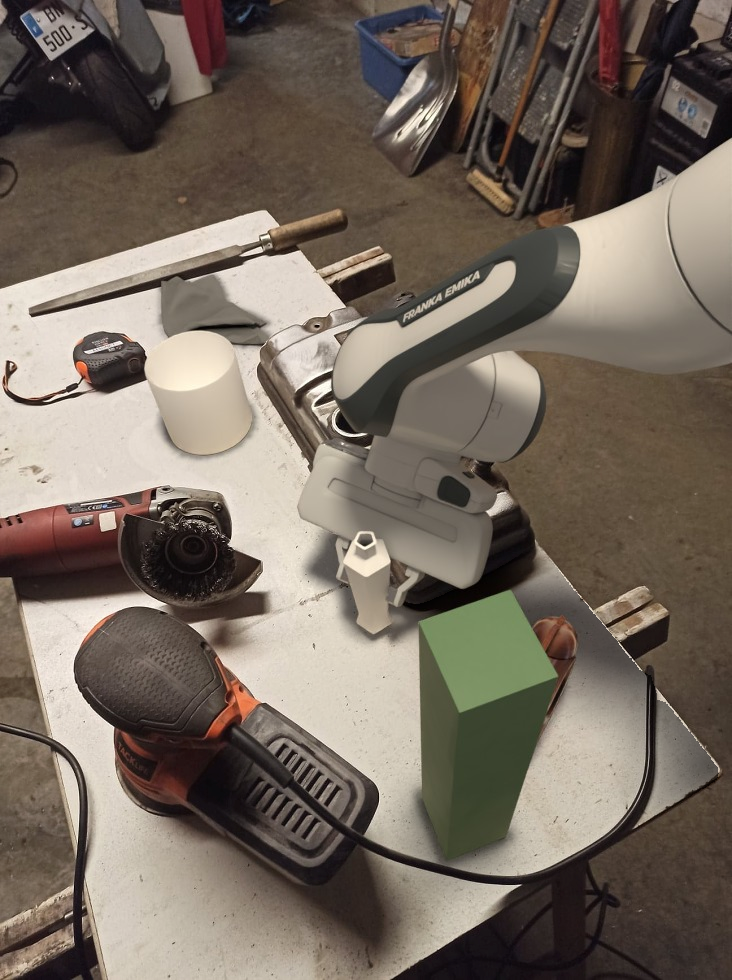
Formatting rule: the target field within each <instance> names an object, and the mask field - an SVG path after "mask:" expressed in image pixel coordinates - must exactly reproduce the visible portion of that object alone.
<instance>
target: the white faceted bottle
mask: <svg viewBox="0 0 732 980" xmlns="http://www.w3.org/2000/svg"><path fill="white" fill-rule="evenodd" d="M343 563H344V566H345V569H346V573H347V576H348V579H349V583H350V584H349V586H350V589H351V592H352V596H353V599H354V602H355V606H356V609H357V612H358V615H357V619H356V624H357V625H358V626H360V627H361V628H363V629H365V630H366V631H368V633H370V634H372V635H375V634H377V633H379V632H380V631H382V630H383V629H385V628H387V627H388V626H390V625H391V624H392V623H393V620H392V617H391V614H390V612H389V603H388V602H386V601H385V598H386V596H387V595H388V589H389V587H390V583H391V582H390V581H391V579H390V578H391V564H392V563H391V558H390V557H389V555H388V552H387V549H386V547H385V544H384V541H383V540H382V539H376V538H375V535H374V533H373V532H371V531H360V532H358V533H357V535H356V538H355V539H354V540H353V541H352V543H351V545H350V547H349V549H348V552H347V554H346V556H345V558H344V561H343Z"/></svg>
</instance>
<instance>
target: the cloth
mask: <svg viewBox="0 0 732 980" xmlns="http://www.w3.org/2000/svg"><path fill="white" fill-rule="evenodd" d="M160 282H161V283H160V285H161V289H160V310H161V311H160V312H161V321H162V328H163V331H164V332H165V333H166V335H167V336H168V338H170V337H172V336H174V335H177V334H180V333H184V332H189V331H209V332H213V333H217V334H219V335H221V336H223V337H225V338H226V339H227V340H229V341H230V343H231V344H246V345H247V344H249V345H251V344H252V345H266V344H265V343H266V341H267V340H268V339H269V338H270V337H269V335H267V333H265V332H264V331H263V330H262V329H261V328H259V327H261V326H263V325H266V324H267V321H265V320H263V319H261V318H259V317H258V316H255V315H254V314H252V313H250V312H248V311H247V310H244V309H243V308H242V307H240V306H238V304H235V303H234V302H232V301H228V300H227V299H226V297H225V292H224V289H223V287H222V286H221V284H220V282H219V280H218V279H217V278H216V276H215V275H214V274H210V275H206V276H204V277H201V278H198V279H196V280H194V281H193V282H192V281H190V280H187V281H186V280H184V279H182V277H179V276H174V277H172V278H170V279H169V280H167V281H166V280H160ZM258 326H259V327H258Z"/></svg>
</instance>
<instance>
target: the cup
mask: <svg viewBox="0 0 732 980" xmlns="http://www.w3.org/2000/svg"><path fill="white" fill-rule="evenodd" d="M240 369H241V368H240V365H239V362H238V358H237V354H236V350H235V348H234V346H233V343H232V342H230V341H229V340H227V339H226V338H225V337H223V336H221V335H219V334H217V333H213V332H209V331H189V332H184V333H180V334H177V335H174V336H172V337H168V338H166V339H164V340H163V341H160V342H159V343H158V344H157V345H156V346H155V347H154V348H153V349H152V350H151V351H150V352H149V354H148V355H147V357H146V360H145V363H144V368H143V370H144V371H143V372H144V376H145V378H146V381H147V383H148V385H149V388H150V391H151V393H152V396H153V399H154V401H155V403H156V405H157V408H158V411H159V414H160V416H161V418H162V421H163V423H164V425H165V427H166V431H167V433H168V435H169V438H170V439H171V441H172V444H173V445H174V446H176V448H178V449H179V450H181V451H183V452H185V453H189V454H192V455H199V456H200V455H201V456H204V455H206V456H207V455H214V454H219V453H222V452H224V451H227V450H229V449H231V448H232V447H234V446H236V445H238V444H239V443H240V442H241V441H242V440H243V439H244V438H245V437H246V435H248V432H250V429H251V425H252V422H253V416H252V410H251V407H250V403H249V399H248V395H247V392H246V388H245V384H244V379H243V377H242V373H241V370H240Z"/></svg>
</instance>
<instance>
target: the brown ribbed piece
mask: <svg viewBox="0 0 732 980" xmlns="http://www.w3.org/2000/svg"><path fill="white" fill-rule="evenodd" d="M532 629H533V631H534V633H535V634H536V636H537V638H538V640H539V642H540V643H541V645H542V647H543V649H544V651H545V652H546V654H547V656H548V658H549V660H550V662H551V663H552V665H553V667H554V669H555V671H556V672H557V674H558V679H557V683H556V686H555V689H554V692H553V695H552V698H551V701H550V704H549V707H548V710H547V713H546V716H545V719H544V722H543V725H542V728H541V731H540V735H539V738H538V740H539V739H540V738H541V736H542V734H543V733H544V731H545V729H546V727H547V725H548V723H549V721H550V719H551V717H552V715H553V713H554V711H555V709H556V707H557V705H558V703H559V701H560V699H561V696H562V694H563V692H564V691H565V688H566V686H567V684H568V682H569V678H570V677H571V674H572V673H573V670H574V667H575V664H576V662H577V657H576V652H577V649H578V645H579V636H578V632H577V630H576V628H575V627H574V626H573V624H571V623H570V622H569V620H567V619H566V616H565V615H563V614H561V615H560V616H553V615H548V616H544V617H541V618H540V619H538V620H537V621H536V622H535V623H534V625H532Z"/></svg>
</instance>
